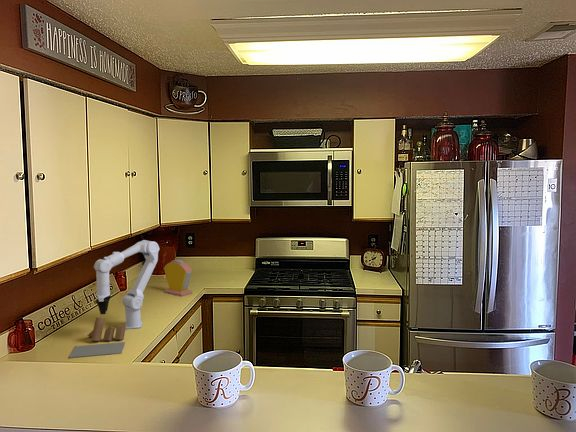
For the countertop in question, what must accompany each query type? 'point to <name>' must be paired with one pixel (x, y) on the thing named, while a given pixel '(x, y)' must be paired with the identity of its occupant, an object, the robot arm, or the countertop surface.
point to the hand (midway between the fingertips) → (103, 312)
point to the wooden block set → (106, 331)
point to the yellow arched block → (178, 277)
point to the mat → (97, 350)
